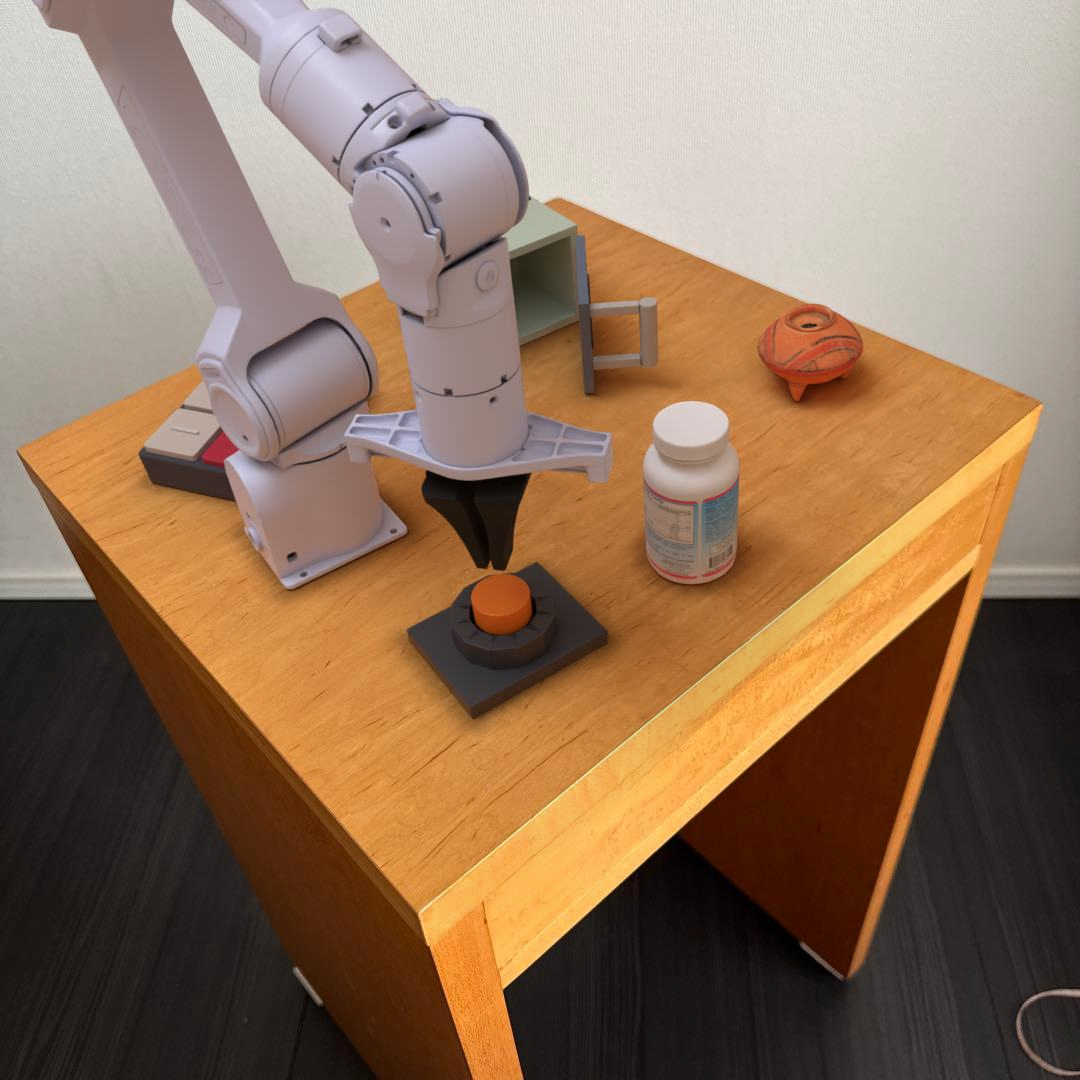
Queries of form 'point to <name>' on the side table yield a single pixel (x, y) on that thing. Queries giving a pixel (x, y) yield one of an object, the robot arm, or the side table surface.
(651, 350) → the washer door
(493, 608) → the button
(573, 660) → the block
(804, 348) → the pot
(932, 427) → the side table surface
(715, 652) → the side table surface
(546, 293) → the washer
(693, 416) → the pill bottle
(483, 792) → the side table surface
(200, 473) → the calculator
